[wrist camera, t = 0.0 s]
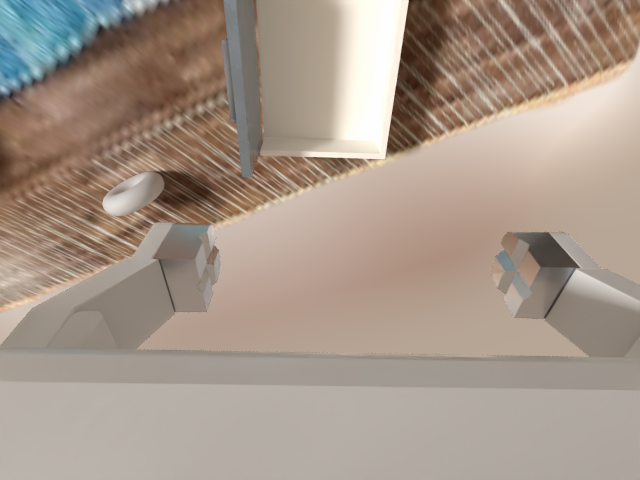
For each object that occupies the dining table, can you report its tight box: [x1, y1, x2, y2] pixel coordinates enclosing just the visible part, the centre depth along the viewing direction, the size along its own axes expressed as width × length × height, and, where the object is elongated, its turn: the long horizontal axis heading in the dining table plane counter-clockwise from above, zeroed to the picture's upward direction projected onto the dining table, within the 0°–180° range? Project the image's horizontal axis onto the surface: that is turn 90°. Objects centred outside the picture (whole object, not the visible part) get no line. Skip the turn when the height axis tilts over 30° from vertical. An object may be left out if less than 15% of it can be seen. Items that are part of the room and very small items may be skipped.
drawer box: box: [256, 0, 409, 159], centre depth 49 cm, size 18×22×7 cm
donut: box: [103, 171, 165, 216], centre depth 58 cm, size 10×4×10 cm, turn 111°
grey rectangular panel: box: [222, 0, 263, 177], centre depth 45 cm, size 2×22×12 cm, turn 178°
